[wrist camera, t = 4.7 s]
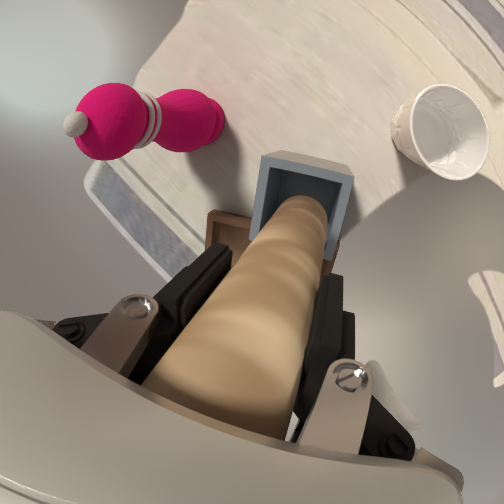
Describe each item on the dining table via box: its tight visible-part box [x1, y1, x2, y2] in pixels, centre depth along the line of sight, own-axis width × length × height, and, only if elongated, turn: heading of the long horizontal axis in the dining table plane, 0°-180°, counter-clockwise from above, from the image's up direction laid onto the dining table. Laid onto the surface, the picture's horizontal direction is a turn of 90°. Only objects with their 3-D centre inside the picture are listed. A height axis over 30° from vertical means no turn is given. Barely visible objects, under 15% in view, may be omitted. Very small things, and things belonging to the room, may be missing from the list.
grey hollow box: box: [249, 150, 354, 261], centre depth 26 cm, size 8×8×9 cm
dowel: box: [141, 195, 327, 441], centre depth 12 cm, size 4×4×16 cm
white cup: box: [390, 84, 489, 181], centre depth 19 cm, size 8×8×10 cm
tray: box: [205, 210, 339, 289], centre depth 35 cm, size 16×12×2 cm
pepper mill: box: [63, 83, 225, 160], centre depth 21 cm, size 7×7×20 cm
